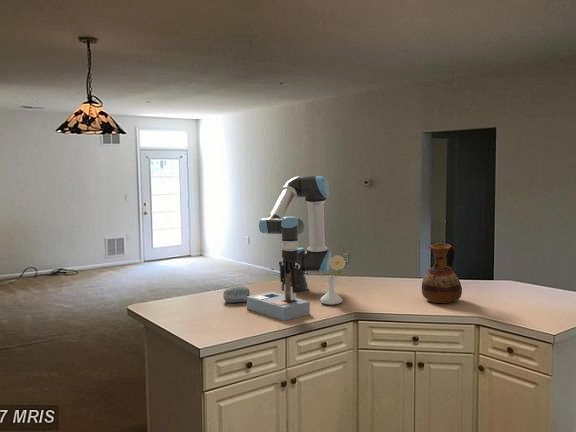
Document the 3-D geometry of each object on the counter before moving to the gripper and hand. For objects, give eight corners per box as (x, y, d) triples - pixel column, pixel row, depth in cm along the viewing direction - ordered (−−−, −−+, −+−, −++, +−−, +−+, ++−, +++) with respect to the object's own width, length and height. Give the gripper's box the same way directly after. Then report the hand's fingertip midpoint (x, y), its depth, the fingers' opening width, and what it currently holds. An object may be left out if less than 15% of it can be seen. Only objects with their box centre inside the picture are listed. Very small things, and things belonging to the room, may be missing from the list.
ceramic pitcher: (414, 301, 263) (415, 243, 261) (432, 294, 278) (433, 239, 275) (450, 308, 250) (451, 247, 247) (467, 300, 265) (469, 242, 262)
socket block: (246, 308, 251) (246, 296, 251) (271, 302, 262) (271, 290, 261) (283, 320, 230) (283, 307, 230) (309, 314, 241) (309, 300, 240)
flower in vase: (317, 305, 257) (317, 256, 255) (323, 299, 267) (323, 252, 265) (342, 307, 252) (342, 257, 250) (348, 302, 263) (348, 253, 261)
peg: (283, 306, 242) (283, 273, 241) (290, 305, 245) (290, 272, 244) (289, 308, 239) (289, 274, 237) (296, 307, 242) (296, 273, 240)
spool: (250, 292, 272) (246, 278, 266) (252, 304, 264) (248, 290, 258) (225, 299, 270) (220, 285, 265) (227, 311, 263) (222, 297, 257)
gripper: (272, 248, 243) (272, 296, 245) (296, 252, 231) (296, 303, 233) (284, 246, 248) (284, 294, 250) (308, 250, 236) (308, 300, 238)
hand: (290, 298), depth 242 cm, fingers closed on peg, 4 cm apart
